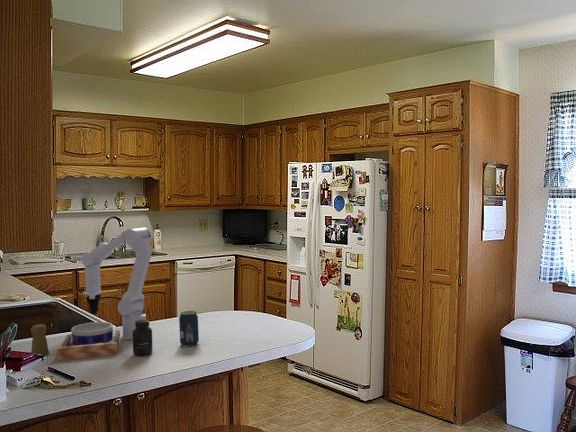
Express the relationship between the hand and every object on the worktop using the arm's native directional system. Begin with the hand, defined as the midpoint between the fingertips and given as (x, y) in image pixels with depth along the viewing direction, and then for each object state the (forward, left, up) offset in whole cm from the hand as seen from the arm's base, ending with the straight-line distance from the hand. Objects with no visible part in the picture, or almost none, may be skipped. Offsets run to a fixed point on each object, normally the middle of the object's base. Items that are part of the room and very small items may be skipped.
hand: (94, 313), depth 228 cm
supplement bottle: (-19, +38, -9) cm, 43 cm away
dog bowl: (0, +13, -9) cm, 15 cm away
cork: (+17, +26, -9) cm, 32 cm away
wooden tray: (0, +21, -8) cm, 22 cm away
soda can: (-36, +31, -9) cm, 48 cm away
